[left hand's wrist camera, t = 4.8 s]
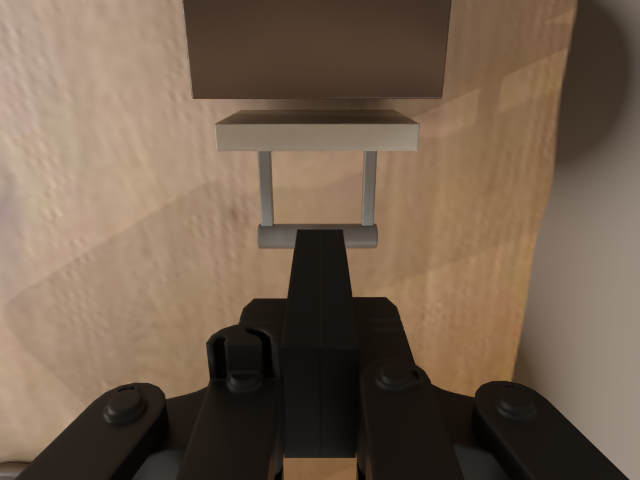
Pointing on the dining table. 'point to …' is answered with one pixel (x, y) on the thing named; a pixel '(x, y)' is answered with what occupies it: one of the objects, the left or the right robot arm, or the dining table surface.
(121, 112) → the dining table surface
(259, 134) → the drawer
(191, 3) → the cabinet
